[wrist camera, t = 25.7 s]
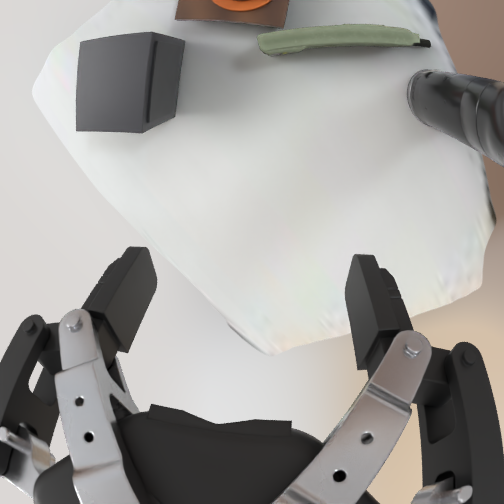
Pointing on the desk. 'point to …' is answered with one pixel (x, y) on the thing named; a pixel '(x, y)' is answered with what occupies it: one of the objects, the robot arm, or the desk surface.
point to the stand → (233, 13)
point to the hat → (241, 4)
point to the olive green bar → (337, 38)
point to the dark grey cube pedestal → (127, 82)
